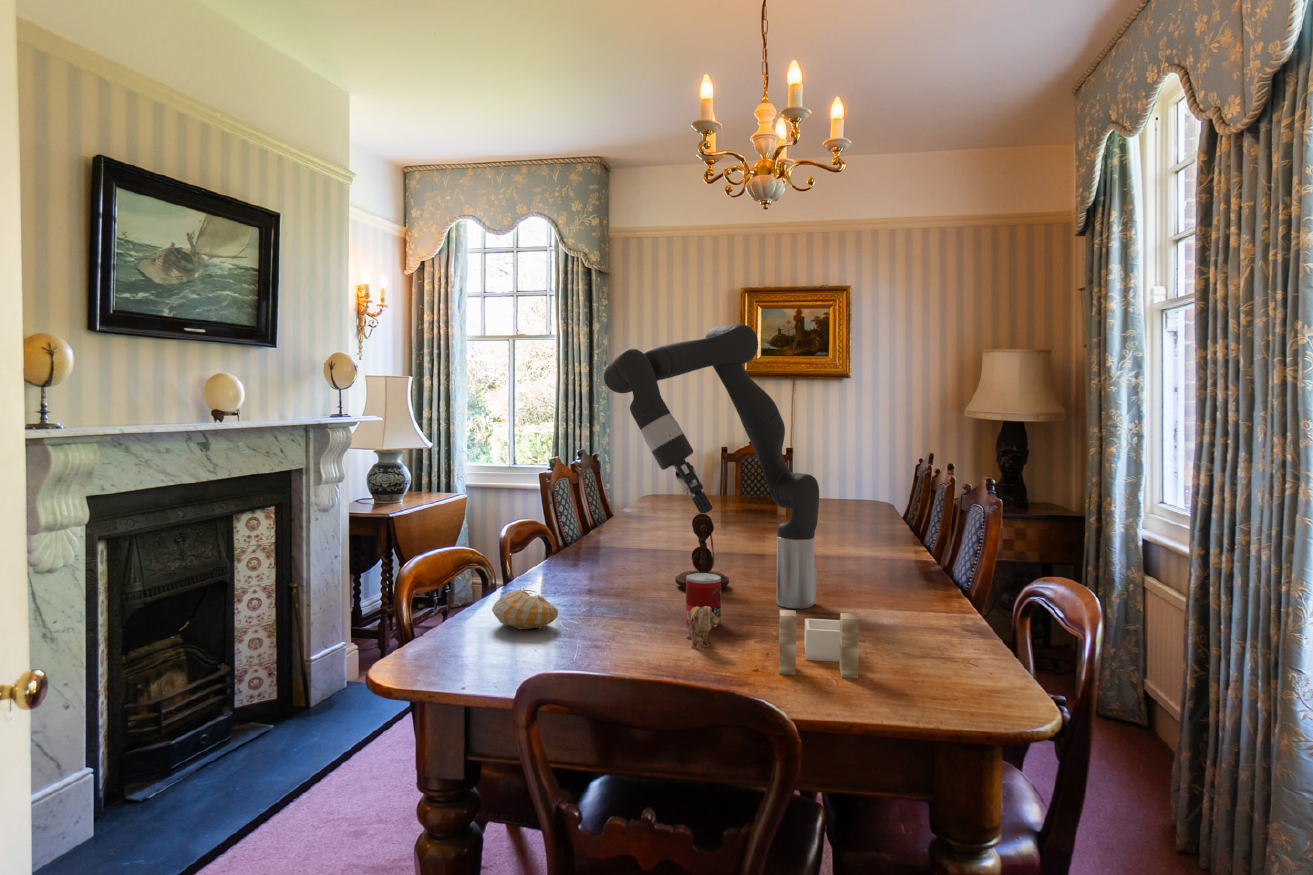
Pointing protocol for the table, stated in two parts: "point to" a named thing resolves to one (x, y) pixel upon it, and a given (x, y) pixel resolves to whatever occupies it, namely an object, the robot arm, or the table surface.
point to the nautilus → (524, 610)
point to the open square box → (822, 640)
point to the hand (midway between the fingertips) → (706, 511)
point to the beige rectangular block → (849, 645)
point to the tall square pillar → (787, 642)
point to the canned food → (703, 593)
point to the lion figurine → (701, 624)
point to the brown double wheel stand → (702, 551)
